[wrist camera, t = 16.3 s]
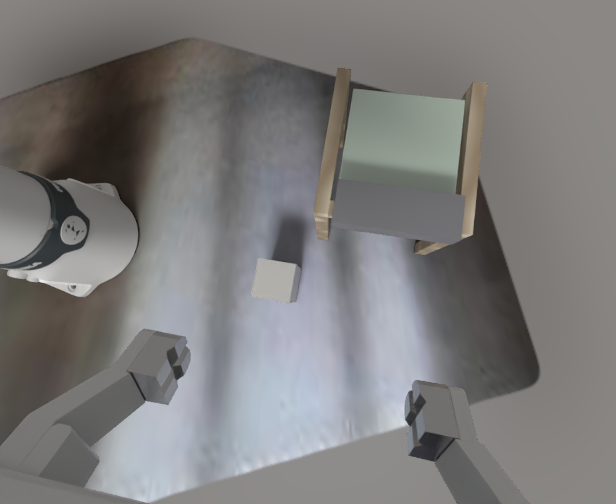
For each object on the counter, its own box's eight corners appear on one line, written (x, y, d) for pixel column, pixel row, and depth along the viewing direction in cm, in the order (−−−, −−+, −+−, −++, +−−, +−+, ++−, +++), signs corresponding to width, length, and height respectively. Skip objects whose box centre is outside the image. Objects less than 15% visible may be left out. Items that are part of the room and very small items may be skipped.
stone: (264, 296, 47) (250, 296, 39) (270, 264, 47) (258, 257, 39) (295, 301, 46) (289, 303, 38) (301, 269, 47) (296, 264, 39)
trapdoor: (331, 229, 33) (331, 221, 29) (352, 94, 35) (355, 70, 31) (445, 246, 32) (461, 240, 28) (461, 106, 34) (477, 83, 30)
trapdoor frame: (318, 238, 47) (313, 211, 32) (334, 138, 49) (337, 67, 34) (424, 254, 46) (472, 234, 31) (436, 150, 48) (487, 83, 33)
